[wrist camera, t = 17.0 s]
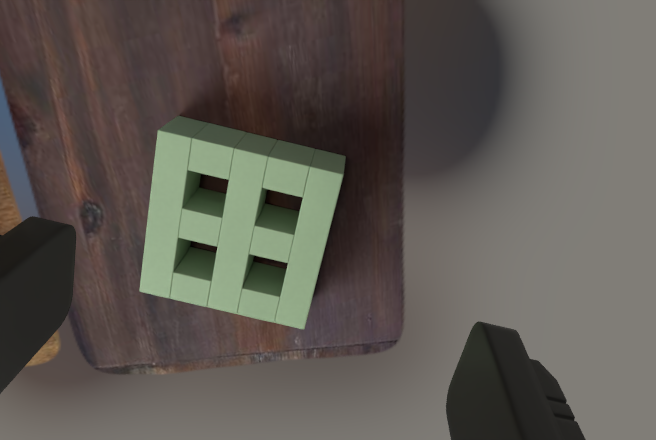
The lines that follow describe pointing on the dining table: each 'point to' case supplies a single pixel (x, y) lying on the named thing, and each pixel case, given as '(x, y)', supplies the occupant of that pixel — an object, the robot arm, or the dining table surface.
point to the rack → (238, 221)
